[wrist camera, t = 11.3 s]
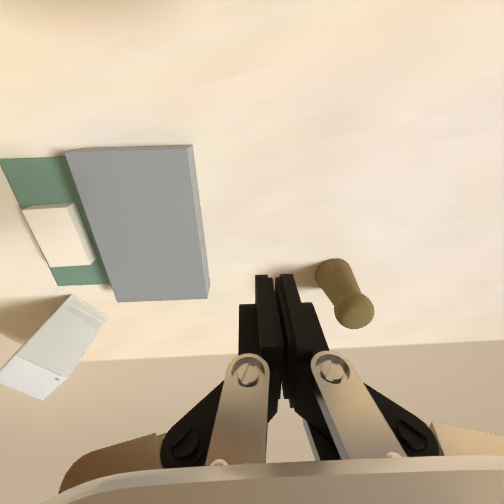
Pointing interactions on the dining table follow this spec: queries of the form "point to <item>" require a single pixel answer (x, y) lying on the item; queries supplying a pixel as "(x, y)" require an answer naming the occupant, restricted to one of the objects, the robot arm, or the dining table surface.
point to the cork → (344, 294)
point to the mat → (54, 192)
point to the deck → (145, 219)
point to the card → (60, 234)
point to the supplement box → (53, 349)
